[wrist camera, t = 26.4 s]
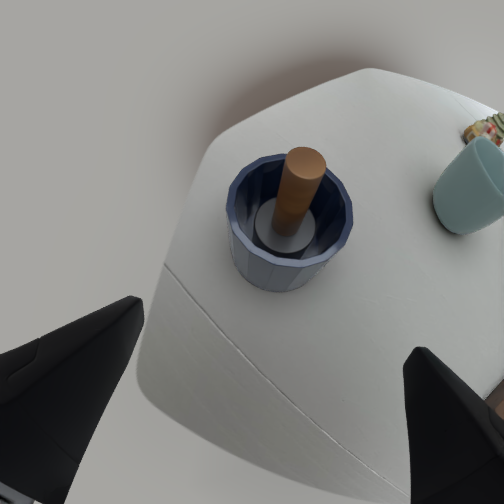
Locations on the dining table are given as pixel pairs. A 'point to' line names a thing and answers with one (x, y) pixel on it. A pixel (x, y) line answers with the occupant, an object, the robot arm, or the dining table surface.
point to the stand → (497, 400)
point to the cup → (471, 188)
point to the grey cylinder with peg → (291, 207)
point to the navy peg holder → (265, 188)
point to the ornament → (487, 129)
